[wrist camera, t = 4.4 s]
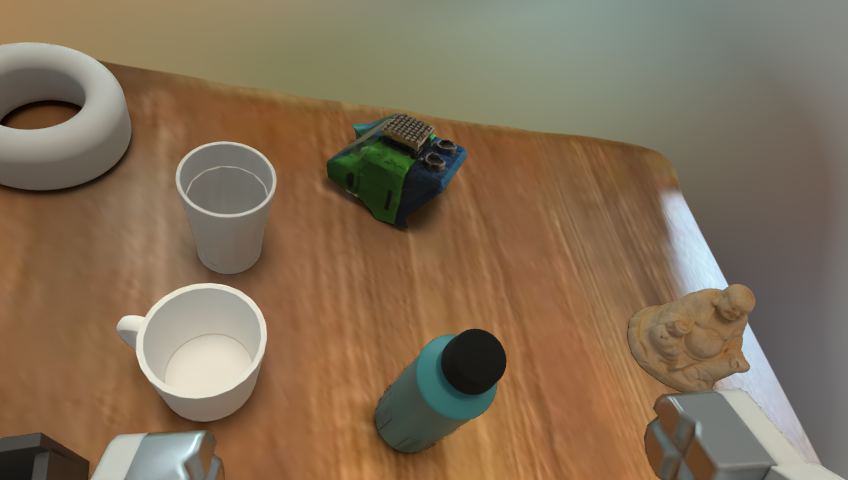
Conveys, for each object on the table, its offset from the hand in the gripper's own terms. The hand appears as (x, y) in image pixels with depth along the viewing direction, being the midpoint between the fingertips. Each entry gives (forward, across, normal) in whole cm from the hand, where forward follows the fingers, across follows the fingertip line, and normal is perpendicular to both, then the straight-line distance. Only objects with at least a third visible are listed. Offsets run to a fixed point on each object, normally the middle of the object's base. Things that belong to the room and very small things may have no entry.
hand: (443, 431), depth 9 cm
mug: (+29, +18, +26) cm, 43 cm away
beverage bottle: (+27, -1, +32) cm, 42 cm away
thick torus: (+49, +34, +10) cm, 61 cm away
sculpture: (+52, 0, +19) cm, 55 cm away
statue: (+38, -35, +36) cm, 63 cm away
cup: (+41, +16, +20) cm, 48 cm away
